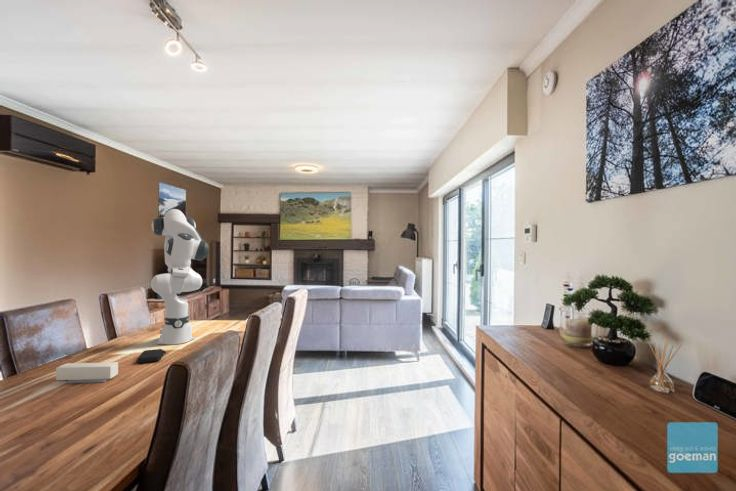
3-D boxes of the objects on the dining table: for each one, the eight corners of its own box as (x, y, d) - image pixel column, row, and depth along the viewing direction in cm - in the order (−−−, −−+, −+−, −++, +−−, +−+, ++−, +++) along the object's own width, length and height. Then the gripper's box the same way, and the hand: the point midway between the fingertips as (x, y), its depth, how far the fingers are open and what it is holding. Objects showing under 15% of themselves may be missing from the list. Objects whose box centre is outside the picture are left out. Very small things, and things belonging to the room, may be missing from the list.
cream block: (110, 378, 136) (55, 380, 134) (117, 374, 141) (65, 375, 139) (110, 366, 136) (56, 367, 134) (118, 362, 141) (65, 363, 139)
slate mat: (66, 383, 132) (66, 382, 132) (84, 373, 142) (84, 372, 142) (103, 382, 134) (103, 381, 134) (119, 372, 144) (119, 372, 144)
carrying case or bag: (162, 362, 158) (167, 353, 171) (162, 356, 158) (167, 347, 171) (135, 365, 154) (142, 355, 167) (135, 358, 154) (142, 349, 167)
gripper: (170, 262, 163) (164, 289, 164) (172, 273, 147) (166, 303, 148) (184, 263, 167) (178, 290, 168) (188, 274, 150) (182, 304, 151)
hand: (172, 296), depth 158 cm, fingers closed
